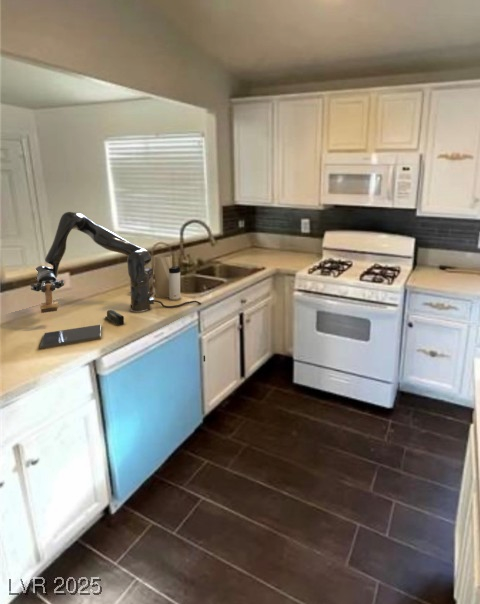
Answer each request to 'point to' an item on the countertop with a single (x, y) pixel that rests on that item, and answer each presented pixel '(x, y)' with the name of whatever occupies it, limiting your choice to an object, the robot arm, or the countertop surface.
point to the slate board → (71, 336)
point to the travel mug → (174, 283)
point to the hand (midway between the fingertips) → (48, 289)
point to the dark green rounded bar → (115, 317)
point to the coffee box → (150, 279)
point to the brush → (48, 301)
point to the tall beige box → (162, 274)
